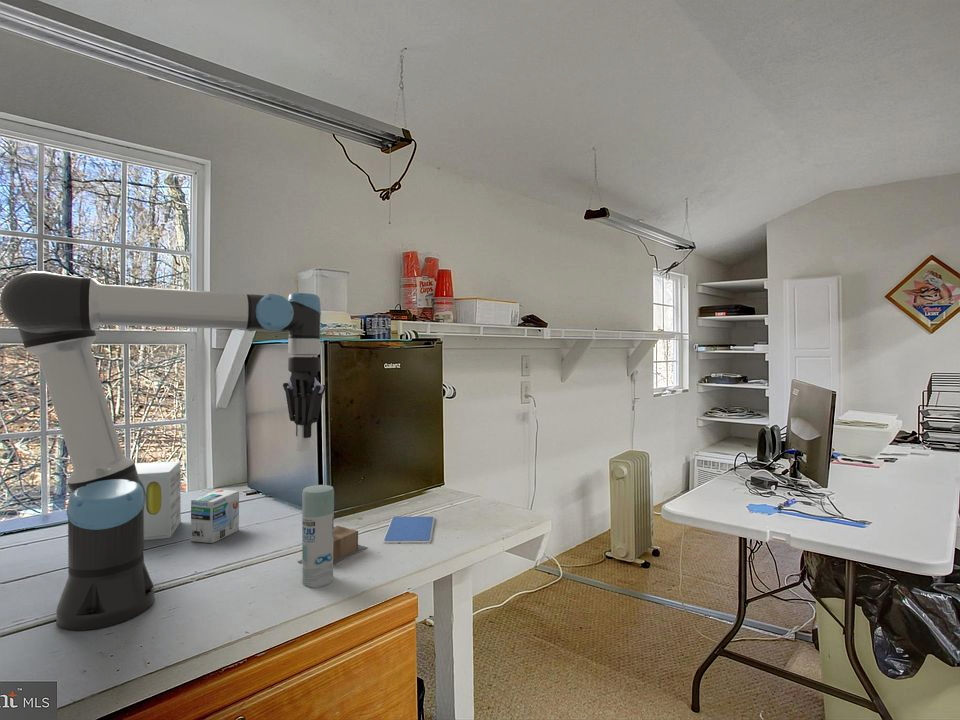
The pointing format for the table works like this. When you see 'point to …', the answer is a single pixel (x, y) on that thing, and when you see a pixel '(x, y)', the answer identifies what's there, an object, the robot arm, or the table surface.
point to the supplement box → (161, 498)
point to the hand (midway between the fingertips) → (303, 450)
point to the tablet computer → (409, 530)
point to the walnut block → (344, 541)
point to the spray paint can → (317, 535)
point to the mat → (346, 554)
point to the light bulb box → (214, 516)
